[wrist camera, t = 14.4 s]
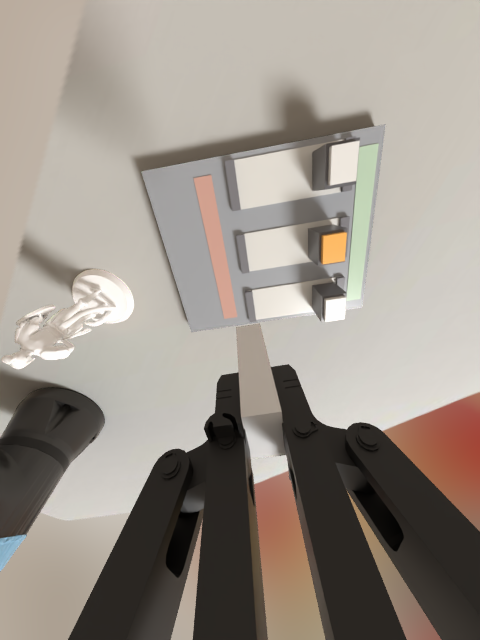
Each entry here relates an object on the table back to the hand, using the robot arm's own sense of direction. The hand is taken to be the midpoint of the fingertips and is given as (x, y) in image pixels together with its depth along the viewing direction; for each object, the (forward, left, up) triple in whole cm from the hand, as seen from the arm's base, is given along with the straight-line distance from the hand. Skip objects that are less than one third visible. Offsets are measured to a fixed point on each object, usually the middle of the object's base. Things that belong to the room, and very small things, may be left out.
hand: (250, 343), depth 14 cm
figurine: (-21, -2, -19) cm, 29 cm away
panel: (+4, +2, -19) cm, 20 cm away
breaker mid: (+10, +2, -17) cm, 20 cm away
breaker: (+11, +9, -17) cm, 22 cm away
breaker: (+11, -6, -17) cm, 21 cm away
